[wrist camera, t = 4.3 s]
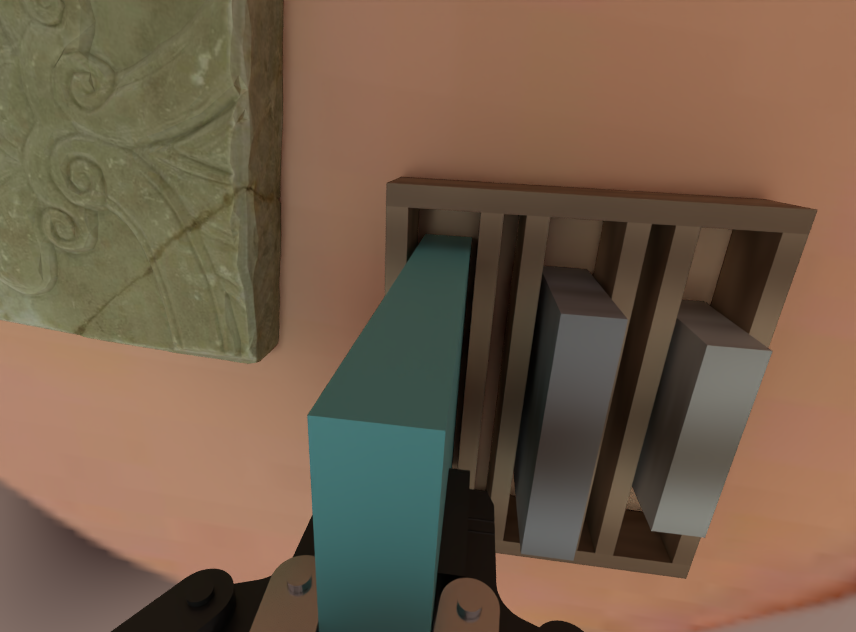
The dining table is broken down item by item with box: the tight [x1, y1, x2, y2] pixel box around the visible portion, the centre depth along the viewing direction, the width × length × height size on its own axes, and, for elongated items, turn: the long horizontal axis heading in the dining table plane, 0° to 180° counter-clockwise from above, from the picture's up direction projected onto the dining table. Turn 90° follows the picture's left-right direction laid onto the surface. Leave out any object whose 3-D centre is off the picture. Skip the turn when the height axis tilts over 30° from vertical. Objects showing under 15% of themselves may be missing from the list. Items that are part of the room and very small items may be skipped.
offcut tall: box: [513, 266, 628, 561], centre depth 18 cm, size 10×2×6 cm, turn 177°
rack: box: [385, 177, 817, 579], centre depth 20 cm, size 17×14×3 cm
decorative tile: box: [0, 0, 283, 364], centre depth 18 cm, size 19×20×4 cm
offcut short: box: [632, 300, 772, 538], centre depth 18 cm, size 8×2×5 cm, turn 177°
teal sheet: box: [307, 234, 472, 632], centre depth 15 cm, size 12×2×14 cm, turn 177°
